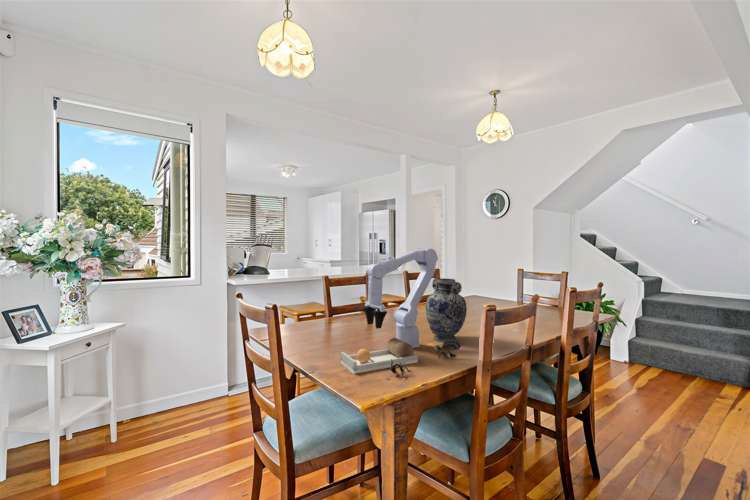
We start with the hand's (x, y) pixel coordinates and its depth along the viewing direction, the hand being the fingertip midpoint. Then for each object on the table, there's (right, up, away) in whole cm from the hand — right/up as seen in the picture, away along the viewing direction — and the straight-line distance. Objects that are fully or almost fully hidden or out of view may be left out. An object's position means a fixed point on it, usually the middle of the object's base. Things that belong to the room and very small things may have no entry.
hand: (374, 326), depth 146 cm
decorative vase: (+33, -10, +18) cm, 39 cm away
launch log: (+10, -11, -9) cm, 17 cm away
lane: (+2, -11, -13) cm, 17 cm away
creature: (+9, -12, -25) cm, 29 cm away
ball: (-4, -7, -16) cm, 18 cm away
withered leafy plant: (+29, -11, -7) cm, 31 cm away
